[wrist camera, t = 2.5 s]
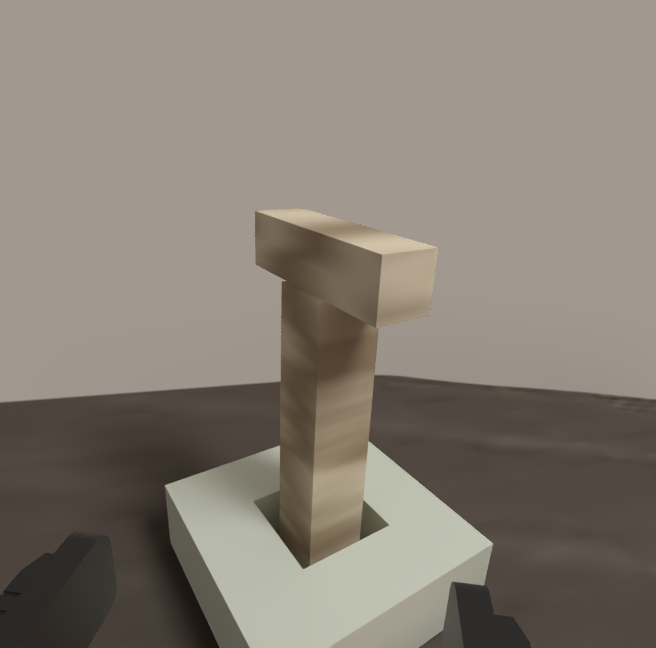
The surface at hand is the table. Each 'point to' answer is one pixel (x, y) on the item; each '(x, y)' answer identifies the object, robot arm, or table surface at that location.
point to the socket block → (326, 575)
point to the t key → (333, 361)
